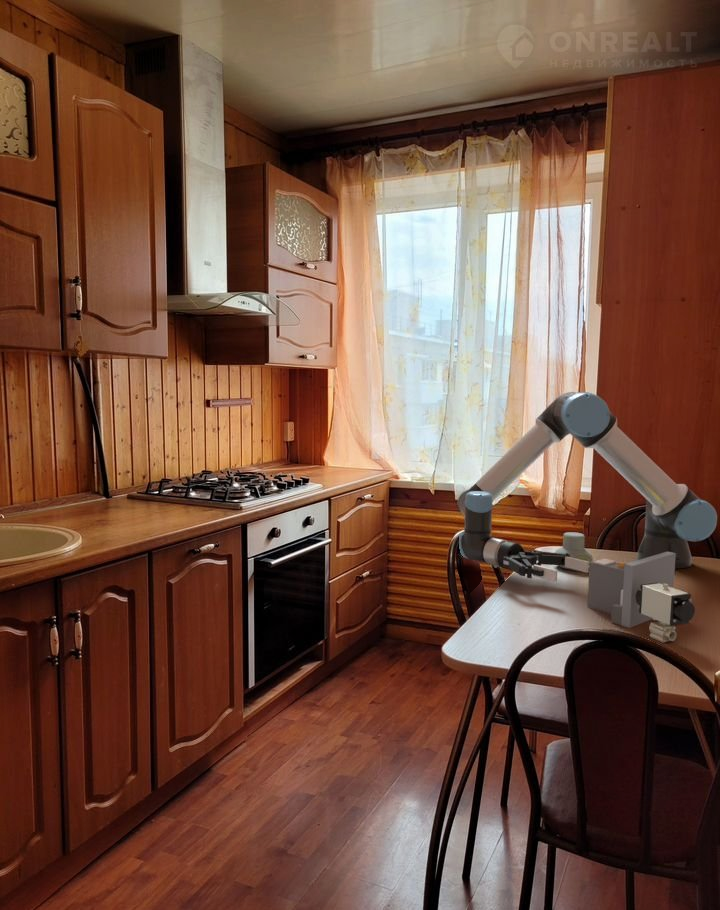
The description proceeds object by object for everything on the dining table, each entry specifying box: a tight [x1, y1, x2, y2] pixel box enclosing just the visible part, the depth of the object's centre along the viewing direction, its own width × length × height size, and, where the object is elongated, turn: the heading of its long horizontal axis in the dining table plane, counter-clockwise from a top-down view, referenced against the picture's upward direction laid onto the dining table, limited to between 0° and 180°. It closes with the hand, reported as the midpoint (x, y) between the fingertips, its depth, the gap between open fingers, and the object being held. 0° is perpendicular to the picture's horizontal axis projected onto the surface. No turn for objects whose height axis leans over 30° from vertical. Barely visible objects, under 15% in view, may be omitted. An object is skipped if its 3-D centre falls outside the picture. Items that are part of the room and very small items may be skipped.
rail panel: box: [610, 552, 676, 629], centre depth 161 cm, size 19×4×14 cm, turn 129°
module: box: [587, 558, 627, 615], centre depth 165 cm, size 5×11×12 cm, turn 39°
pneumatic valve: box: [635, 583, 696, 644], centre depth 147 cm, size 6×12×12 cm, turn 23°
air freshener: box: [554, 531, 594, 572], centre depth 203 cm, size 11×8×10 cm
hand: (572, 571), depth 174 cm, fingers open, 13 cm apart
